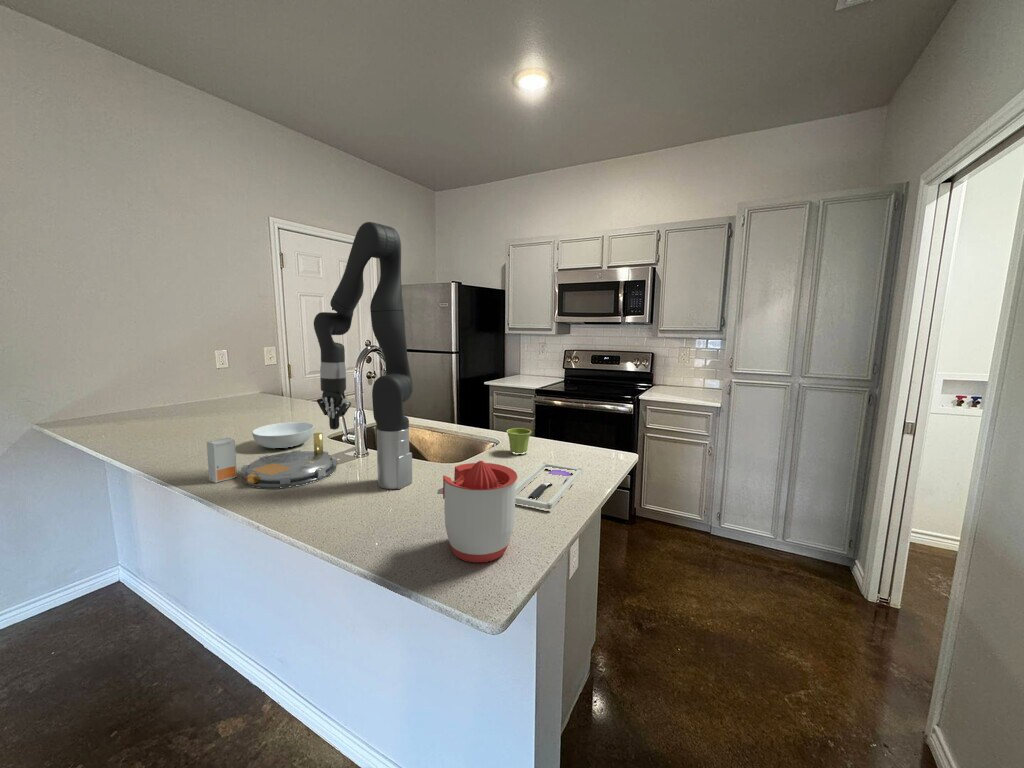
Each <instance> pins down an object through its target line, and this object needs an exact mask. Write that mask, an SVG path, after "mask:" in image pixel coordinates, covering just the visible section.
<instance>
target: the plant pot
mask: <svg viewBox="0 0 1024 768" xmlns="http://www.w3.org/2000/svg"><path fill="white" fill-rule="evenodd" d="M506 433H507V436H508V441H509V449H510V451H511V452H515V453H523V452H526V451H527V452H528V447H529V445H528V444H529V442H530V441H529V440H530V436H531V434H532V430H530V429H528V428H523V427H514V428H510V429H507V430H506ZM511 452H510V453H511Z"/></svg>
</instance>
